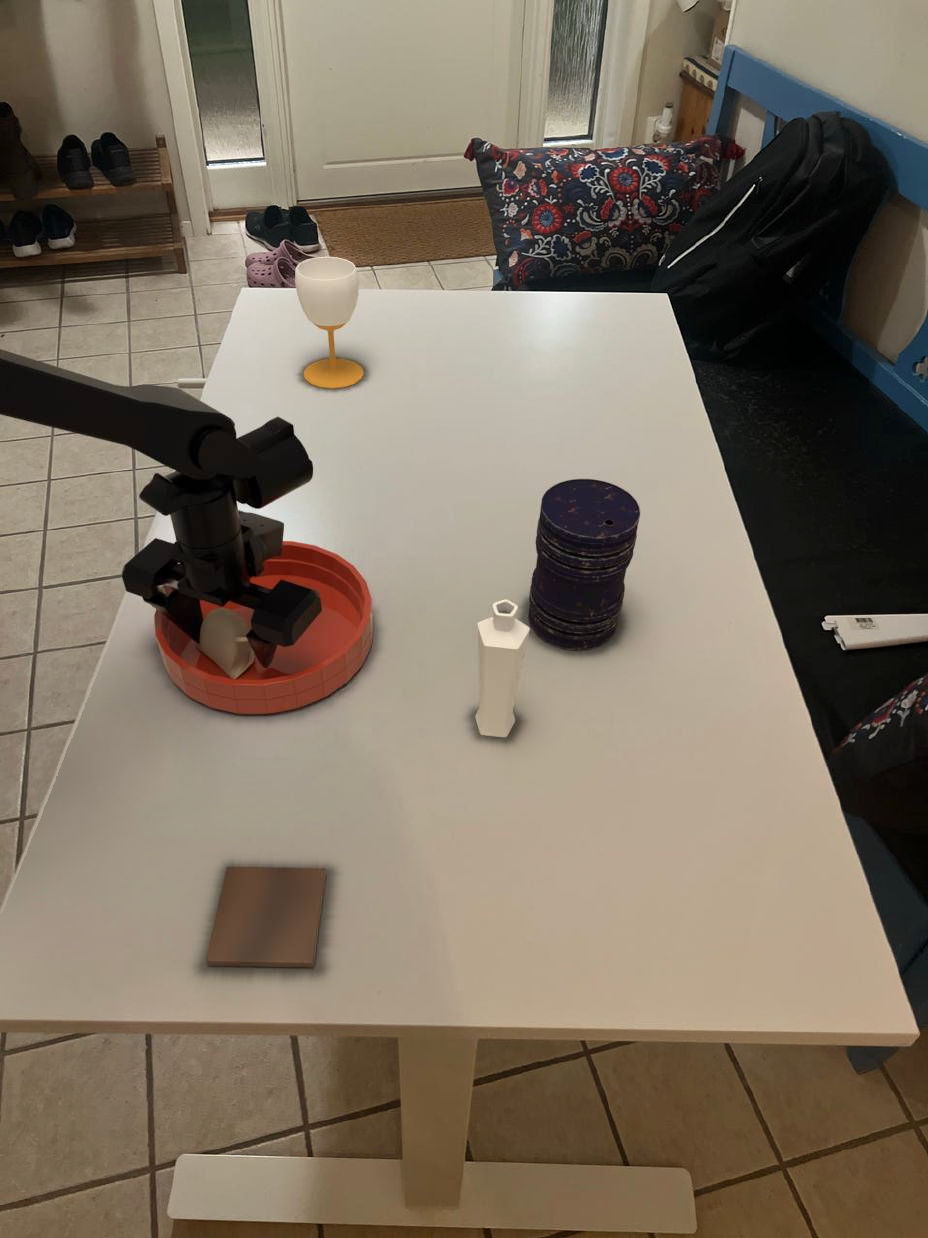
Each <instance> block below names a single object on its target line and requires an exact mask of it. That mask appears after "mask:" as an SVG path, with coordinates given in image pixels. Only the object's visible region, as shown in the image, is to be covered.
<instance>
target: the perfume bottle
mask: <svg viewBox="0 0 928 1238" xmlns="http://www.w3.org/2000/svg"><path fill="white" fill-rule="evenodd" d="M492 608H493V615H492V616H491V617H488V618H485V619H483V620H479V621H478V622H477V657H478V688H479V689H478V691H479V692H478V693H479V707H478V710H477V712H476V714H475V721H476V724H477V728H478V733H479V734H480V735H481V736H487V737H497V738H507V737H508V735H509V733H510V732H511V730H512V728H513V726H514V724H515V722H516V717H515V714H514V711H513V709H514V705H515V701H516V696H517V691H518V687H519V681H520V678H521V673H522V667H523V662H524V657H525V654H526V649H527V643H528V640H529V639H528V638H529V634H530V628H531V627H530V626H528V625H527V624H525V623H523V622H522V621H521V620H518V619H517V618H516V613H517V610H518V609H519V606H518V605H517V604H516V603H514V602H512V601H510V600H509V599H507V598H506V599H502V600H499V601H495V602H493V603H492Z"/></svg>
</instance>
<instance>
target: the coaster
mask: <svg viewBox="0 0 928 1238" xmlns="http://www.w3.org/2000/svg"><path fill="white" fill-rule="evenodd" d="M224 874H225V875H224V878H223V883H222V887H221V891H220V896H219V900H218V905H217V910H216V914H215V918H214V923H213V928H212V933H211V936H210V941H209V946H208V950H207V955H206V960H205V962H206V965H207V966H208V967H251V968H253V967H255V968H256V967H258V968H260V967H261V968H263V967H265V968H314V967H315V960H316V954H317V953H316V952H317V945H318V937H319V931H320V921H321V916H322V915H321V914H322V906H323V897H324V890H325V884H326V875H327V873H326V869H325V868H320V867H319V868H317V867H316V868H315V867H309V868H308V867H270V866H269V867H267V866H226V869H225V873H224Z"/></svg>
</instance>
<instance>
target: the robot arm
mask: <svg viewBox="0 0 928 1238" xmlns="http://www.w3.org/2000/svg"><path fill="white" fill-rule="evenodd" d="M0 415H1V416H4V417H7V418H13V419H17V420H21V421H24V422H29V423H32V424H33V423H34V424H38V425H42V426H45V427H50V428H54V429H58V430H61V431H65V432H69V433H73V434H76V435H77V434H78V435H81V436H86V437H89V438H93V439H98V440H102V441H105V442H106V441H107V442H111V443H114V444H118V445H123V446H126V447H128V448H131V449H132V450H135V451H137V452H138V453H140V454H143V455H144V456H147V458H150V459H152V460H154V461H156V462H157V463H159V464H161V465H163V466H165V467H167V468H169V469H171V470H174V471H172V472H170V473H169V474H166V475H163V474H161V473H159V472H155V473H154V474H153V476H152V478H151V480H150V481H149V483H147V484H146V485H145V486H144V487H143V488H142V490H141V491H140V492H139V495H138V497H139V500H141V501H142V502H143V503H145V504H146V505H148V506H149V507H150V508H152V509H154V510H155V511H157V512H158V513H159V514H161V515H162V516H164V517H168V516H170V520H171V524H172V529H173V533H174V537H175V541H174V542H171V541H167V540H164V539H161V538H157V537H155V538H154V539H152V540H151V541H150V542H148V544H146V545H145V546H144V547H143V548H142V549H141V550H140V551H139V552H137V553H136V554H135V555H134V556H133V557H132V558H131V559H129V560H128V561H127V562H126V563H125V564H124V565H123V567H122V571H121V579H122V582H123V585H124V589H125V591H126V593H130V594H133V595H135V596H139V597H141V598H142V600H143V602H144V603H146V604H148V605H150V606H152V607H153V608H154V609H155V610H156V609H157V610H158V611H159V612H160V613H162V614H163V615H164V616H165V617H167V618H168V619H169V620H170V621H172V622H173V623H174V624H175V625H176V626H177V627H179V628H180V629H181V630H182V631H183V632H184V633H185V634H187V635H188V636H189V637H190V638H191V639H192V640H193V641H194V642H196V643H198V644H200V629H201V625H202V623H203V621H204V620H203V615H202V610H201V605H200V600H203V601H206V602H209V603H212V604H215V605H217V606H220V607H224V606H225V605H226V604H227V603H228V602H229V601H230V602H233V603H236V604H239V605H242V606H245V607H248V608H251V609H254V612H253V615H252V618H251V627H252V629H251V630H250V631H249V632H248V633H247V634H246V638H247V640H248V642H249V644H250V646H251V647H252V649H253V651H254V653H255V655H256V657H257V659H258V661H259V662H260V664H261V665H262V667H264V668H267V667H268V666H269V665H270V664H271V662H272V660H273V657H274V654H275V651H276V648H277V645H280V646H283V647H287V646H292V645H294V644H295V642H296V641H297V640H298V639H299V638H300V636H301V635H302V634H303V633H304V632H305V630H306V629H307V628H308V627H309V626H310V624H311V623H312V622H313V621H314V620H315V618H316V617H317V616H318V615H319V614H320V612H321V611H322V607H321V598H320V595H319V592H318V591H317V590H314V589H311V588H308V587H305V586H301V585H298V584H295V583H292V582H289V581H286V580H282V579H281V580H280V581H279V582H278V583H277V584H276V585H275V586H274V588H273V589H269V588H266V587H263V586H260V585H257V584H254V583H251V581H250V578H251V577H252V576H254V577H258V576H259V575H260V574H261V573H262V572H263V571H264V566H263V562H264V561H266V560H268V559H270V558H272V557H274V556H277V557H278V556H280V555H281V554H282V545H283V541H284V533H285V523H284V522H283V521H280V520H278V519H274V518H271V517H269V516H264V515H262V514H258V513H254V512H248V511H247V512H246V511H244V510H240V509H239V508H238V503H239V504H241V505H247V506H249V507H250V508H252V509H256V510H259V509H260V510H261V509H262V508H264V507H266V506H268V505H270V504H272V503H274V502H275V501H277V500H279V499H281V498H282V497H285V496H286V495H288V494H290V493H292V492H294V491H295V490H297V489H300V488H301V487H303V486H305V485H306V484H308V483H310V482H311V481H312V480H313V476H314V464H313V461H312V459H310V457H309V454H308V451H307V450H306V448H305V446H304V445H303V443H302V442H301V440H300V439H299V437H298V436H297V435H296V434H295V429H294V424H293V423H291V422H289V421H288V420H285V419H284V418H282V417H281V416H276V417H273V418H271V419H270V420H268V421H266V422H265V423H264V424H263V425H260V426H259V427H257V428H256V429H253V430H251V431H249V432H246V433H245V434H243V435H241V436H239V437H237V430H236V427H235V426H236V422H234V420H233V419H232V418H231V417H229V416H228V415H226V414H224V413H222V412H221V411H219V410H217V409H215V408H214V407H212V406H210V405H209V404H207V403H205V402H204V401H202V400H200V399H199V398H197V397H195V396H193V395H191V394H190V393H188V392H186V391H185V390H183V389H181V388H179V387H174V386H165V385H155V384H149V383H147V384H146V383H143V384H137V385H132V386H131V385H130V386H128V385H119V384H113V383H110V382H107V381H104V380H100V379H97V378H95V377H91V376H88V375H84V374H81V373H79V372H75V371H72V370H68V369H66V368H62V367H60V366H55V365H53V364H50V363H47V362H43V361H41V360H36V359H33V358H31V357H28V356H23V355H21V354H17V353H14V352H11V351H9V350H4V349H1V348H0ZM199 599H200V600H199Z"/></svg>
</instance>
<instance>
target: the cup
mask: <svg viewBox="0 0 928 1238" xmlns="http://www.w3.org/2000/svg"><path fill="white" fill-rule="evenodd" d="M294 271H295V273H294V285H295V288H296V295H297V298H298V301H299V304H300V307H301V309H302V312H303V313H304V315H305V316H306V318H307V320H308V321H309V322H310V323H312V324H313V325H314V326H316V327H317V329H318V328H319V329H320V330H324V331H327V339H328V352H329V358H326V359H321V360H317V361H313V362H312V363H311V364H309V365H308V366H306V367H305V369H304V371H303V378H304V380H305V381H306V382H308V383H309V384H310V385H312V386H314V387H318V388H321V389H330V390H331V389H332V390H335V389H342V388H343V389H344V388H347V387H350V386H353V385H356V384H357V383H358V382H360V381H361V380H362V379H363V377H364V374H365V373H364V369H363V367H362V366H361V365H359V364H358V363H357V362H355V361H352V360H348V359H346V358H345V359H344V358H336V349H335V347H336V345H335V330H339V329H341V328H343V327H344V326H345V325H346V324H347V323H349V321H350V320H351V318H352V317H353V314H354V312H355V310H356V307H357V303H358V299H359V291H360V288H359V286H360V280H359V275H358V270H357V267H356V265H355V263H353V262H351V261H350V260H349V259H346V258H342V257H337V256H317V257H316V256H315V257H312V258H307V259H305V260H303V261H301V262H299V263H298V264H297V265H296V267H295V270H294Z"/></svg>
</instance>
